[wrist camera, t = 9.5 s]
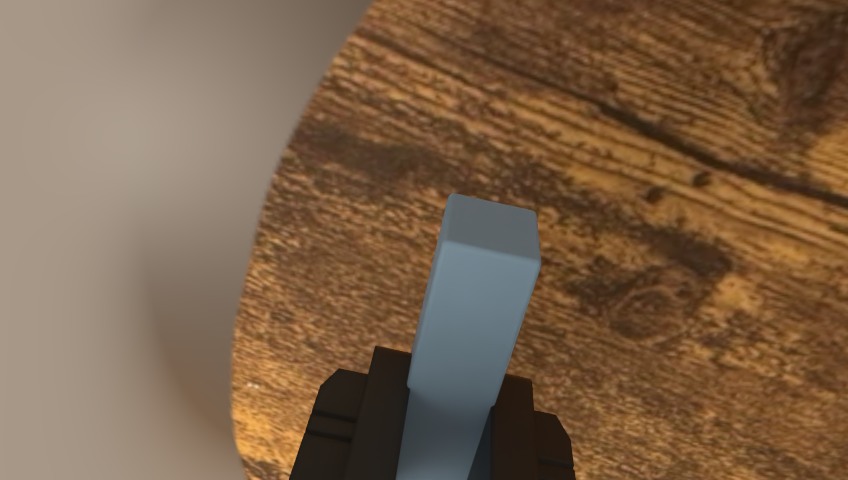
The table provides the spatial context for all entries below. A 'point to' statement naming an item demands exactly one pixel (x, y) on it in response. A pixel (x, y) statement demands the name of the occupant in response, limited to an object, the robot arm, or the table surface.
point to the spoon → (466, 333)
